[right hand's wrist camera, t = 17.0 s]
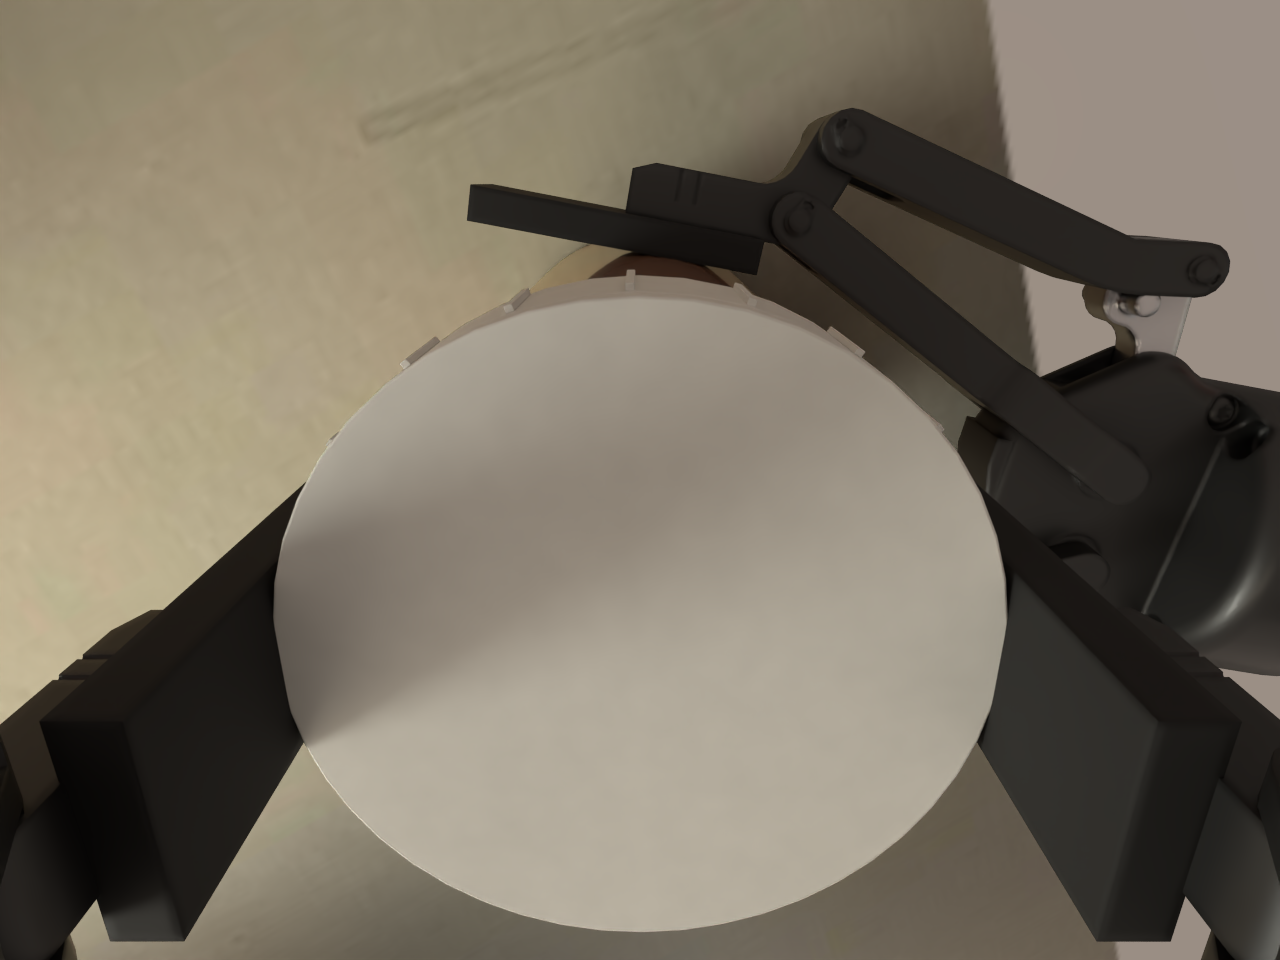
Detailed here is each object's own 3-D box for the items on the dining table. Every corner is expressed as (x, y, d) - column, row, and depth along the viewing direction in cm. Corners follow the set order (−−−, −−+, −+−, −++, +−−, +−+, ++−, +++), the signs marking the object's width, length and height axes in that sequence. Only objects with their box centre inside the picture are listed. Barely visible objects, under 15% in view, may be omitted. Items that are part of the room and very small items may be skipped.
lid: (843, 148, 10) (891, 138, 8) (1019, 725, 13) (1085, 820, 11) (203, 429, 11) (112, 481, 9) (502, 894, 14) (480, 1005, 12)
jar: (786, 460, 28) (981, 830, 12) (548, 509, 28) (432, 920, 13) (745, 206, 25) (932, 248, 9) (479, 267, 25) (215, 406, 10)
